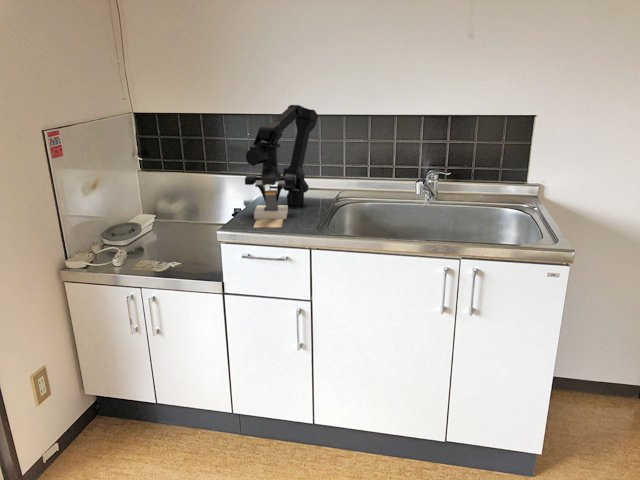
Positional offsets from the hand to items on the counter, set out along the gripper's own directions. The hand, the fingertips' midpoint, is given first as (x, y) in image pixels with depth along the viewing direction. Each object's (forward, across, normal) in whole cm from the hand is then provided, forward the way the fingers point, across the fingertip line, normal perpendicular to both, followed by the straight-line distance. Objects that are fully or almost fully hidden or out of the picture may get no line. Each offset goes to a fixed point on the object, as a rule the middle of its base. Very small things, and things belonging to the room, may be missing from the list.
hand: (271, 201), depth 205 cm
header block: (+5, 0, 0) cm, 5 cm away
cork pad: (+5, 0, -11) cm, 12 cm away
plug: (+4, 0, 0) cm, 4 cm away
